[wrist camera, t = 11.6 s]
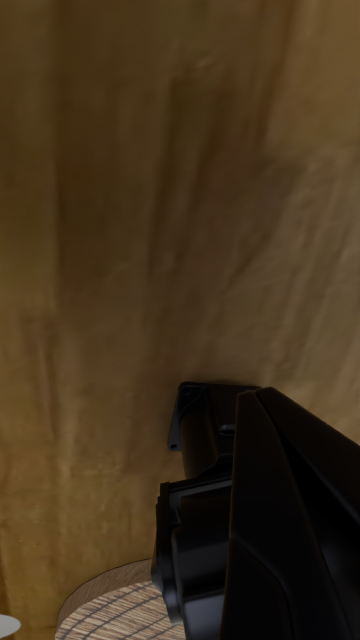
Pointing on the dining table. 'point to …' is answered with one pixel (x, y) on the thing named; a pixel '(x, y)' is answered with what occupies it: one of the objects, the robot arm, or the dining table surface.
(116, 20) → the dining table surface
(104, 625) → the trivet
